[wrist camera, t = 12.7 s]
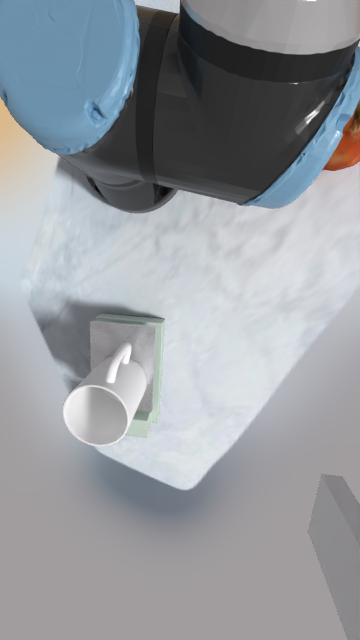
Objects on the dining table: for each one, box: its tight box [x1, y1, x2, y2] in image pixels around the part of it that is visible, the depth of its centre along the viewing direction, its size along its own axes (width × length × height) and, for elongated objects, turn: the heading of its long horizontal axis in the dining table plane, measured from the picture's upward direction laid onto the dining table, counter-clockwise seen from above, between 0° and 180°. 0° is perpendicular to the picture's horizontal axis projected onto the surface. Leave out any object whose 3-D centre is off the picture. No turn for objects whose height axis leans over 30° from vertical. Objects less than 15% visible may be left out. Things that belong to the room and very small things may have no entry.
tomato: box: [322, 99, 360, 171], centre depth 33 cm, size 9×9×8 cm
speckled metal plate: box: [90, 321, 157, 412], centre depth 43 cm, size 14×10×3 cm
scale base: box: [95, 314, 165, 438], centre depth 44 cm, size 19×11×7 cm, turn 176°
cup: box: [63, 342, 146, 446], centre depth 36 cm, size 8×12×10 cm
